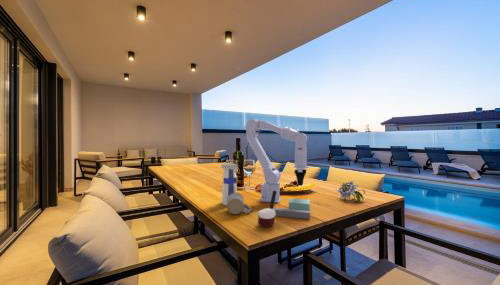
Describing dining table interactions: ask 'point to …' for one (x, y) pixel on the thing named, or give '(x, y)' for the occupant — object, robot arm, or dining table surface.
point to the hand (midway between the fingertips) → (300, 184)
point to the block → (299, 204)
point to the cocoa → (267, 214)
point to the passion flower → (350, 191)
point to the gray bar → (292, 213)
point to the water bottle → (229, 181)
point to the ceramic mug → (236, 204)
